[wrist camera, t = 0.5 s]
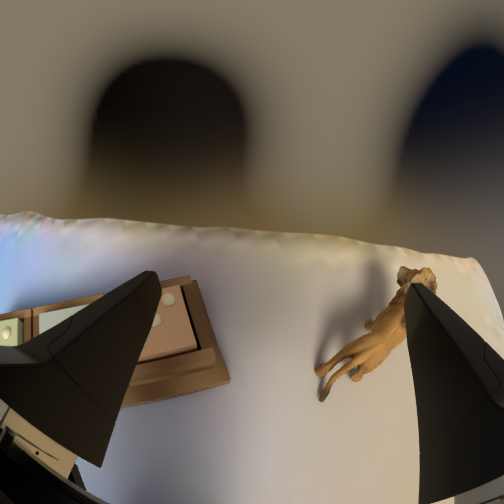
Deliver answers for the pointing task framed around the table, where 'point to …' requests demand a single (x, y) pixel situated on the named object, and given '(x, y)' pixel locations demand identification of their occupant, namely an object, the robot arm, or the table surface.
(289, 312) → the table surface
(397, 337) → the lion figurine
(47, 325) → the button
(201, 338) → the button board
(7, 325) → the button
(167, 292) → the three-pip button
